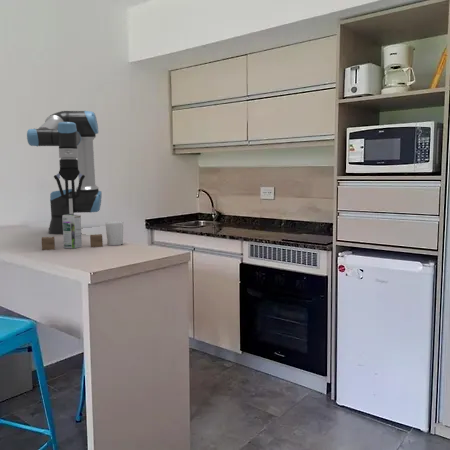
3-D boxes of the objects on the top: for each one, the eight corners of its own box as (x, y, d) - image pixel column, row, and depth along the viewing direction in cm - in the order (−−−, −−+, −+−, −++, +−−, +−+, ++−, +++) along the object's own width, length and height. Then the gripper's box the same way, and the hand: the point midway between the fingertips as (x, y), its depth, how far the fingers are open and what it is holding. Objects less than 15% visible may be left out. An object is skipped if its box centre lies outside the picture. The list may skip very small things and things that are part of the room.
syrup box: (63, 248, 197) (61, 215, 195) (72, 246, 202) (70, 213, 201) (73, 248, 195) (72, 215, 193) (82, 246, 201) (81, 214, 199)
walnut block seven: (42, 248, 197) (42, 236, 197) (54, 247, 199) (54, 236, 198) (42, 250, 192) (41, 238, 192) (54, 249, 194) (54, 237, 193)
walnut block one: (90, 245, 203) (90, 234, 203) (102, 245, 205) (101, 233, 204) (91, 247, 199) (90, 236, 198) (102, 246, 200) (102, 235, 200)
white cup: (111, 246, 201) (110, 224, 199) (103, 244, 206) (102, 222, 205) (127, 244, 206) (126, 222, 204) (118, 242, 212) (118, 221, 210)
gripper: (52, 158, 188) (55, 215, 191) (84, 158, 193) (87, 213, 195) (52, 159, 196) (55, 213, 198) (84, 159, 200) (86, 212, 203)
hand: (71, 213), depth 197 cm, fingers closed
